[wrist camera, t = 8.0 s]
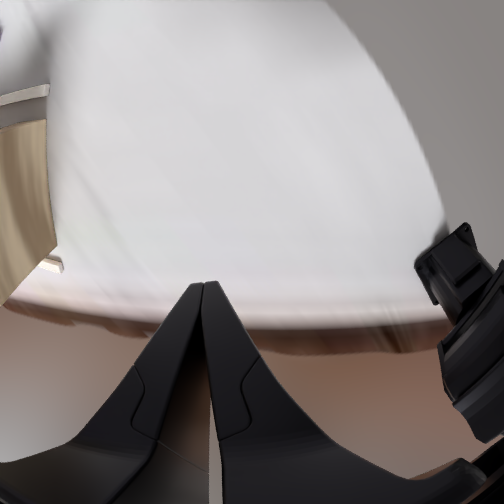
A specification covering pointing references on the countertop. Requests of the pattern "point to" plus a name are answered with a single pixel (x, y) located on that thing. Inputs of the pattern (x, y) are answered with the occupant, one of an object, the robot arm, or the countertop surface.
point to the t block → (23, 203)
